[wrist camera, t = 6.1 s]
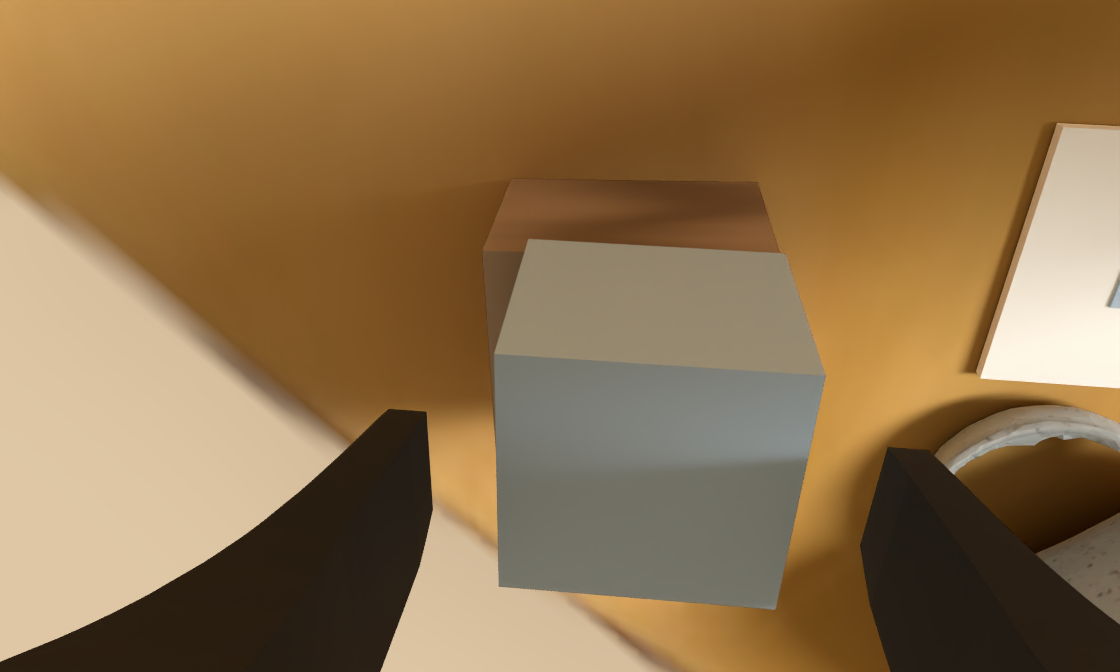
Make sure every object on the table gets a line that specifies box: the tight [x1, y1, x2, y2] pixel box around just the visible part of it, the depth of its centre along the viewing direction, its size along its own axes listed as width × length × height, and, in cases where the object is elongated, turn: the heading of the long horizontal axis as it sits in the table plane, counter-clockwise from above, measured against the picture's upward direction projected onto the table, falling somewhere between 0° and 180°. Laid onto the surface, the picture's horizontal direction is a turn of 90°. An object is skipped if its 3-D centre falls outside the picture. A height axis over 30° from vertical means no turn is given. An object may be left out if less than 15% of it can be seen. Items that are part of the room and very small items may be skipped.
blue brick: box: [494, 239, 826, 610], centre depth 15 cm, size 5×5×4 cm
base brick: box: [482, 179, 780, 444], centre depth 18 cm, size 5×5×4 cm
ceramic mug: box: [934, 405, 1120, 624], centre depth 19 cm, size 11×8×8 cm
